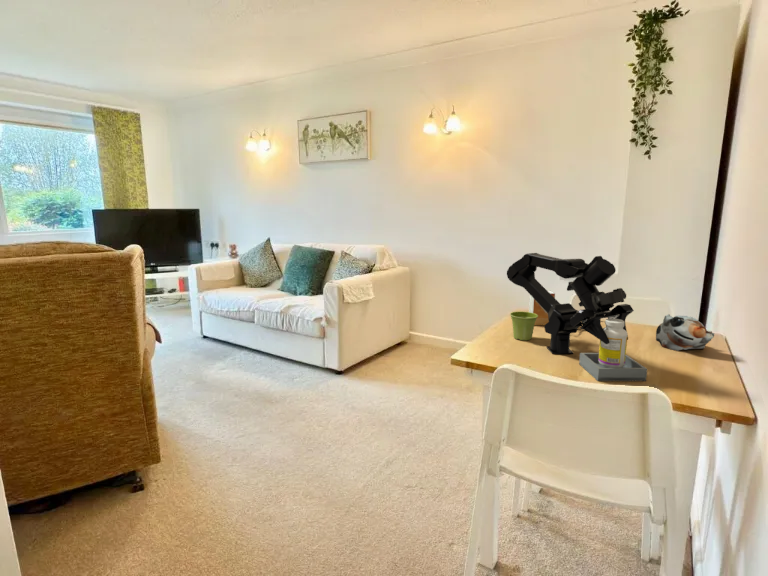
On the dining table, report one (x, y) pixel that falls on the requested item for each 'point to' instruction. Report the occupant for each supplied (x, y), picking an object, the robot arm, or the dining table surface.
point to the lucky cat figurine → (682, 333)
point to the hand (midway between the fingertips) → (617, 341)
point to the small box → (539, 310)
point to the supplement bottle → (613, 344)
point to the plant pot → (523, 324)
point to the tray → (612, 369)
